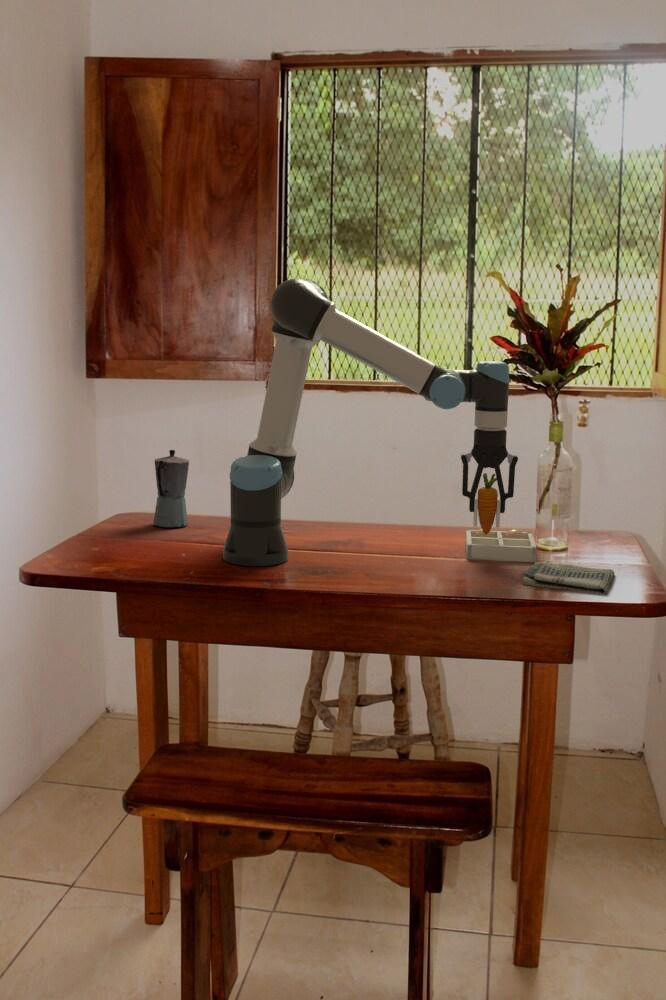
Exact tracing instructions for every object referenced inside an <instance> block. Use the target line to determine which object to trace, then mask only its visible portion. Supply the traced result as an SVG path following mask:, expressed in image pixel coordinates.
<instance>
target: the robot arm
mask: <svg viewBox="0 0 666 1000" xmlns="http://www.w3.org/2000/svg"><path fill="white" fill-rule="evenodd" d="M269 306H270V311H271V316H272V317H273V323H272V327H271V335H272V336H273V337H274V339H275V345H274V351H273V355H272V360H271V361H272V362H271V366H270V371H269V375H268V381H267V386H266V392H265V396H264V400H263V401H264V402H263V405H262V406H263V407H262V412H261V417H260V422H259V427H258V432H257V437H256V438H255V439H254V440H253V441H252V442H250V443H249V444H248V450H247V455H245V456H240V457H237V458H236V459H235V460H234V461H232V463H231V465H230V472H229V480H230V483H229V484H230V486H229V487H230V526H229V527H230V528H229V531H228V534H227V537H226V540H225V543H224V546H223V549H222V559H223V561H225V562H226V563H229V564H231V565H235V566H242V567H243V566H244V567H267V566H274V565H279V564H283V563H285V562H287V561H288V560H289V548H288V547H289V546H288V544H287V541H286V539H285V535H284V531H283V529H282V499H283V498H284V497H286V496H287V494H288V493H289V492H290V491H291V489H292V487H293V485H294V481H295V463H296V457H297V451H296V450H295V448H294V447H293V442H294V438H295V433H296V428H297V422H298V417H299V413H300V409H301V402H302V397H303V394H304V393H303V392H304V387H305V383H306V380H307V379H306V378H307V373H308V367H309V363H310V358H311V354H312V349H313V348H314V347H315V346H316V345H318V344H319V343H320V341H321V342H324V343H325V344H327V345H329V346H330V347H332V348H334V349H336V350H338V351H340V352H341V353H343V354H345V355H347V356H349V357H351V358H353V359H354V360H356V361H358V362H360V363H362V364H364V365H366V366H367V367H369V368H371V369H373V370H375V371H377V372H379V374H381V375H384V376H386V377H388V378H389V379H391V380H393V381H395V382H396V383H398V384H400V385H402V386H404V387H405V388H407V389H409V390H410V391H413V392H415V393H417V394H418V395H420V396H421V397H424V399H425V400H426V401H428V402H431V403H433V404H434V405H435V407H437V408H439V409H442V410H452V409H454V408H457V406H459V405H461V403H474V404H475V406H474V426H475V427H476V428H475V429H474V431H473V445H472V446H473V447H472V449H471V451H469V452H467V453H461V454H460V460H461V462H462V485H461V488H462V489H461V490H462V491H461V494H462V496H463V497H466V498H468V500H469V506H468V510H469V512H470V513H473V522H472V523H473V527H476V528H477V526H478V497H476V496H477V495H476V494H477V493H478V488H479V485H480V481H481V478H482V475H483V471H484V469H488V468H490V469H494V472H495V473H494V474H495V478H497V481H496V483H497V487H498V494H499V497H497V509H496V514H495V528H500V522H501V521H500V520H501V514H505V512H506V500H507V499H512V498H513V497H514V493H515V491H514V490H515V479H516V477H515V473H516V466H517V463H518V461H519V457H518V455H516V454H512V453H509V452H508V450H507V433H508V432H507V430H506V428H507V427H508V411H509V410H508V407H509V393H510V392H509V389H510V366H509V364H507V362H504V361H495V360H493V361H487V360H486V361H478V363H477V364H476V367H475V369H468V370H467V369H448V368H447V369H445V368H443V367H442V366H439V365H437V364H435V363H434V362H432V361H430V360H428V359H426V358H425V357H423V356H421V355H419V354H418V353H416V352H414V351H412V350H410V349H408V348H407V347H405V346H403V345H401V344H400V343H397V342H396V341H394V340H393V339H390V338H388V337H386V336H385V335H383V334H381V333H379V332H378V331H376V330H374V329H372V328H370V327H369V326H367V325H365V324H363V323H361V322H359V321H358V320H356V319H354V318H353V317H351V316H348V314H345V313H344V312H341V311H339V310H338V309H337V307H336V303H335V302H333V301H331V300H329V297H328V295H327V292H326V291H325V289H324V288H323V287H322V286H321V285H320V284H319V283H317V282H316V281H313V280H311V279H309V278H290V279H287V280H285V281H283V282H281V283H280V284H279V285H278V286H276V287H275V289H274V291H273V292H272V295H271V298H270V305H269ZM472 457H473V459H474V461H475V462H476V464H477V467H476V472H475V474H474V475H475V476H474V477H473V481H472V486H471V488H470V491H469V490H468V486H469V463H470V462H471V458H472ZM506 459H507V462H508V464H509V465H508V466H509V467H508V480H507V481H508V486H507V492H505V488H504V483H503V477H502V472H501V468H500V467H501V466H500V465H502V463H503V462H504V461H505V460H506Z"/></svg>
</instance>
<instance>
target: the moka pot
mask: <svg viewBox="0 0 666 1000" xmlns="http://www.w3.org/2000/svg"><path fill="white" fill-rule="evenodd" d="M175 454H176V450H175V449H170V450H169V455H167V456H163V457H158V458H155V459H154V469H155V479H156V490H157V498H156V503H155V511H154V516H153V525H154V526H155V527H156V526H157V527H161V528H181V527H186V526H188V524H189V521H188V513H187V504H186V497H185V496H186V489H187V481H188V473H189V466H190V460H189V459H186V458H182V457H179V456H175Z"/></svg>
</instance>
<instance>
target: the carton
mask: <svg viewBox="0 0 666 1000" xmlns="http://www.w3.org/2000/svg"><path fill="white" fill-rule="evenodd" d="M477 530H478V529H466V530H465V551H466V560H470V561H471V560H473V561H493V562H494V561H495V562H499V561H500V562H520V563H535V562H537V545H536V541H535V539H534V536H533V533H532V532H530V531H529V532H526V531H521V532H522V533H523V534H524V539H510V538H505V537H506V534H507V533H508V532H509V531H504V530H503V531H502V530H491V531H492V533H493V538H486V537H475V533H476V532H477Z"/></svg>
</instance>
